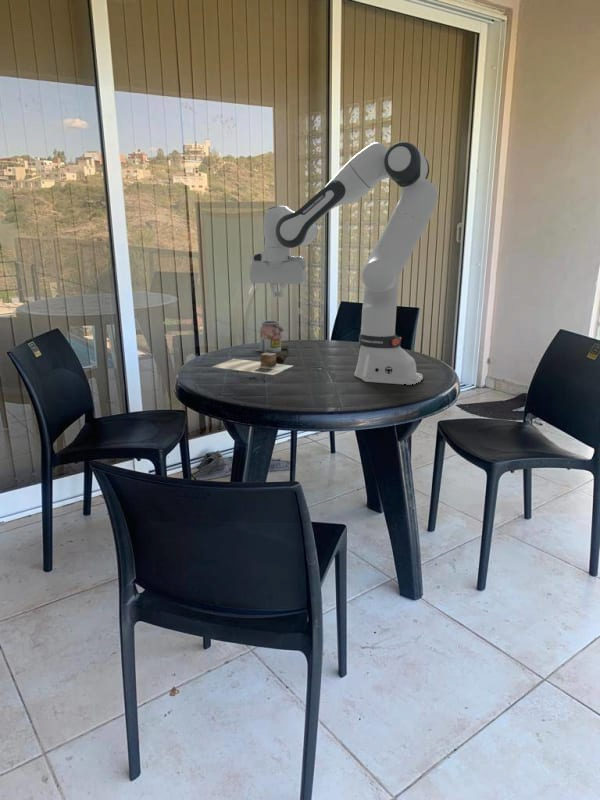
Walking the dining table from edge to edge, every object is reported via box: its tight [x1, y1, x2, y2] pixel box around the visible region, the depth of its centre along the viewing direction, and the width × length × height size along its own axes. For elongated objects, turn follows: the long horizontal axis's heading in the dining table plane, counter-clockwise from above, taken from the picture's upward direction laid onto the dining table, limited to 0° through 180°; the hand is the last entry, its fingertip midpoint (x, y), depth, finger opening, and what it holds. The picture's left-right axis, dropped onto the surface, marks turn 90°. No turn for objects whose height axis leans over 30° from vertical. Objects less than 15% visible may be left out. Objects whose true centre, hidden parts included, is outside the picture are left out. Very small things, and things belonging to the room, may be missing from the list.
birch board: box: [211, 358, 294, 380], centre depth 198 cm, size 24×15×2 cm, turn 65°
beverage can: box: [259, 320, 285, 354], centre depth 227 cm, size 9×8×12 cm
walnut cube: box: [260, 352, 277, 367], centre depth 199 cm, size 4×4×4 cm
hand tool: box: [276, 345, 290, 364], centre depth 213 cm, size 19×4×5 cm, turn 169°
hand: (278, 296), depth 201 cm, fingers closed
